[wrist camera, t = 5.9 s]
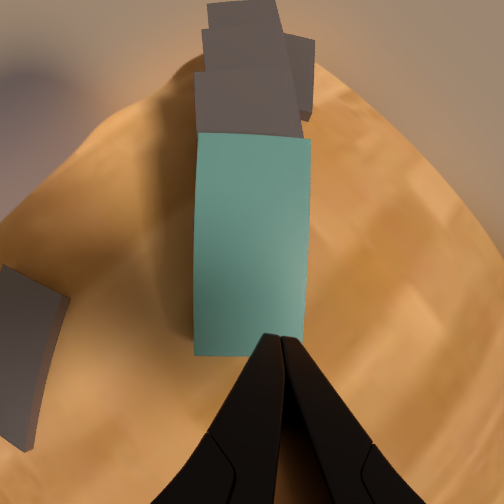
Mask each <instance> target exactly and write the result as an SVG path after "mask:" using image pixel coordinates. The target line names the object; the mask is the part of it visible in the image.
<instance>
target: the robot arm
mask: <svg viewBox="0 0 504 504" xmlns="http://www.w3.org/2000/svg"><path fill="white" fill-rule="evenodd" d="M372 443H373V441H372V439H371V438H370V437H369V435H368V434H367V433H366V431H365V430H364V429H363V427H362V426H361V425H360V423H359V422H358V421H357V419H356V418H355V416H354V415H353V414H352V412H351V411H350V410H349V408H348V407H347V406H346V404H345V403H344V401H343V400H342V399H341V397H340V396H339V395H338V393H337V392H336V390H335V389H334V388H333V386H332V385H331V384H330V382H329V381H328V379H327V378H326V377H325V375H324V374H323V373H322V371H321V370H320V368H319V367H318V366H317V364H316V363H315V361H314V360H313V359H312V357H311V356H310V355H309V353H308V352H307V350H306V349H305V348H304V346H303V345H302V343H301V342H300V341H299V339H297V338H296V337H290V336H281V337H280V336H279V335H277V334H271V333H263V334H262V336H261V338H260V340H259V341H258V343H257V345H256V347H255V349H254V350H253V352H252V354H251V356H250V358H249V359H248V361H247V363H246V365H245V366H244V368H243V370H242V372H241V374H240V375H239V377H238V379H237V381H236V382H235V384H234V386H233V387H232V389H231V391H230V393H229V394H228V396H227V398H226V400H225V401H224V403H223V405H222V406H221V408H220V410H219V411H218V413H217V415H216V417H215V418H214V420H213V422H212V423H211V425H210V427H209V428H208V430H207V433H205V434H204V436H203V438H202V439H201V441H200V443H199V444H198V446H197V447H196V449H195V450H194V452H193V453H192V455H191V456H190V458H189V459H188V461H187V462H186V463H185V465H184V466H183V467H182V469H181V470H180V471H179V472H178V473H177V475H176V476H175V477H174V478H173V479H172V481H171V482H170V483H169V484H168V485H167V486H166V487H165V488H164V490H163V491H162V492H161V493H160V494H159V495H158V496H157V497H156V498H155V499H154V500H153V501H152V502H151V503H150V504H426V503H425V502H424V501H423V500H422V499H421V498H420V497H419V496H418V495H417V494H416V493H415V492H414V491H413V489H412V488H411V487H410V486H409V485H408V484H407V483H406V482H405V481H404V480H403V479H402V477H401V476H400V475H399V474H398V473H397V472H396V471H395V469H394V468H393V467H392V466H391V464H390V463H389V462H388V460H387V459H386V458H385V457H384V455H383V454H382V453H381V451H380V450H379V449H378V447H377V446H376V445H375V444H372Z"/></svg>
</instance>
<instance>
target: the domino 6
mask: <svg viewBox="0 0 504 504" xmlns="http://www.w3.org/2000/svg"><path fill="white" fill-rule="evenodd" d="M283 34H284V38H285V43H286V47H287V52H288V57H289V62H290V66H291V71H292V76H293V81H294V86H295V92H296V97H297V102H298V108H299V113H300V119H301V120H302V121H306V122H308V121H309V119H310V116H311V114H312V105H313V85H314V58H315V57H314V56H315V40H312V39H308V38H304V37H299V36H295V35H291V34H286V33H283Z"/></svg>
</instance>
